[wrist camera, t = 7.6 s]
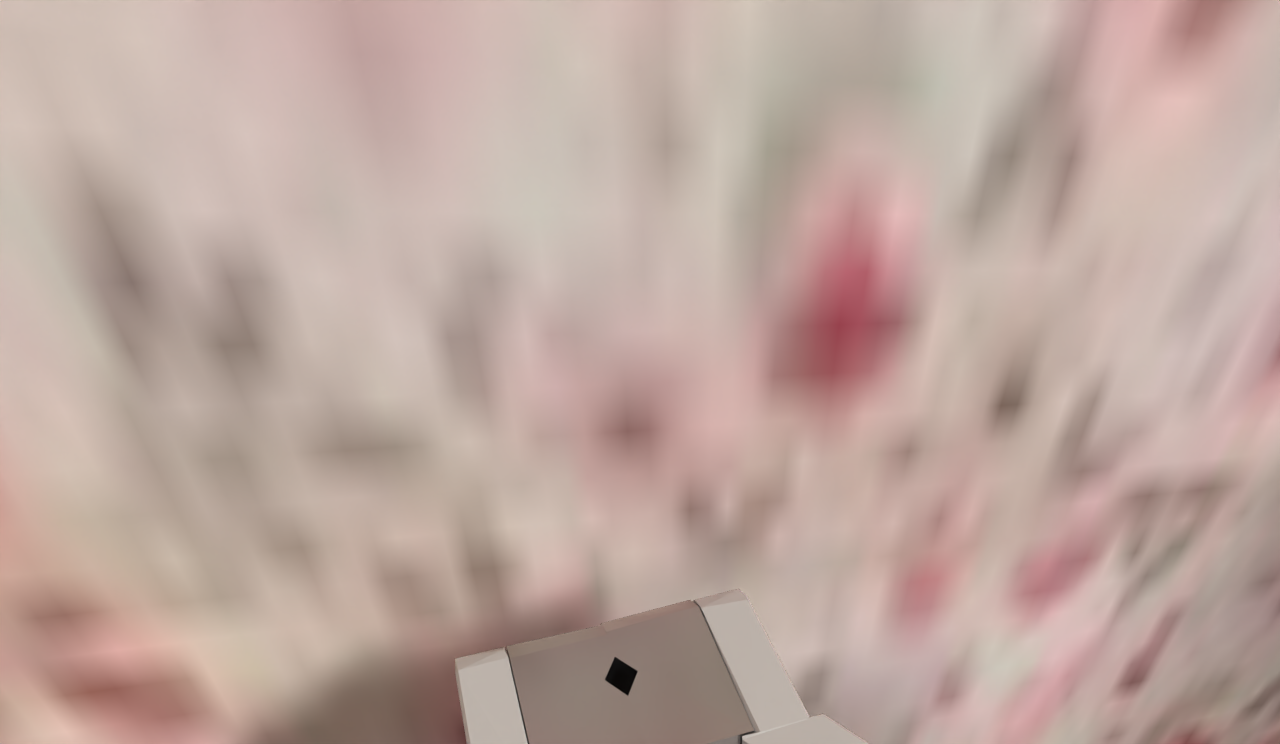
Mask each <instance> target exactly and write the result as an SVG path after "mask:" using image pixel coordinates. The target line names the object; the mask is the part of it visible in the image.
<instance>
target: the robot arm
mask: <svg viewBox="0 0 1280 744" xmlns="http://www.w3.org/2000/svg"><path fill="white" fill-rule="evenodd" d="M506 651H507V652H506ZM455 675H456V681H457V687H458V693H459V699H460V705H461V711H462V717H463V724H464V730H465V736H466V742H467V744H869V743H868V742H866V741H865V740H863V739H862V738H860V737H859V736H857V735H856V734H854V733H852V732H851V731H849V730H848V729H846V728H845V727H843V726H842V725H840V724H839V723H837V722H836V721H834V720H832V719H831V718H829V717H828V716H826V715H825V714H820V715H816V716H811V717H809V715H808V713H807V711H806V709H805V707H804V705H803V703H802V701H801V699H800V697H799V695H798V693H797V692H796V690H795V688H794V686H793V684H792V682H791V680H790V678H789V676H788V674H787V672H786V670H785V668H784V666H783V664H782V662H781V660H780V659H779V657H778V655H777V653H776V651H775V649H774V647H773V645H772V643H771V641H770V639H769V637H768V635H767V633H766V631H765V629H764V627H763V625H762V624H761V622H760V620H759V618H758V616H757V614H756V612H755V610H754V608H753V606H752V604H751V602H750V600H749V598H748V596H747V595H746V594H745V593H744V592H742V591H741V590H740V589H735V590H731V591H727V592H723V593H719V594H715V595H712V596H708V597H704V598H700V599H696V600H693V601H691V600H687V601H683V602H680V603H676V604H672V605H668V606H665V607H661V608H657V609H653V610H649V611H646V612H642V613H638V614H634V615H630V616H627V617H623V618H619V619H615V620H612V621H608V622H604V623H601V624H600V626H595V627H591V628H586V629H582V630H577V631H573V632H568V633H564V634H559V635H555V636H550V637H546V638H541V639H537V640H532V641H528V642H523V643H519V644H514V645H510V646H507V648H506V649H505V647H502V648H498V649H493V650H489V651H485V652H481V653H477V654H472V655H468V656H464V657H460V658H456V659H455Z"/></svg>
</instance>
